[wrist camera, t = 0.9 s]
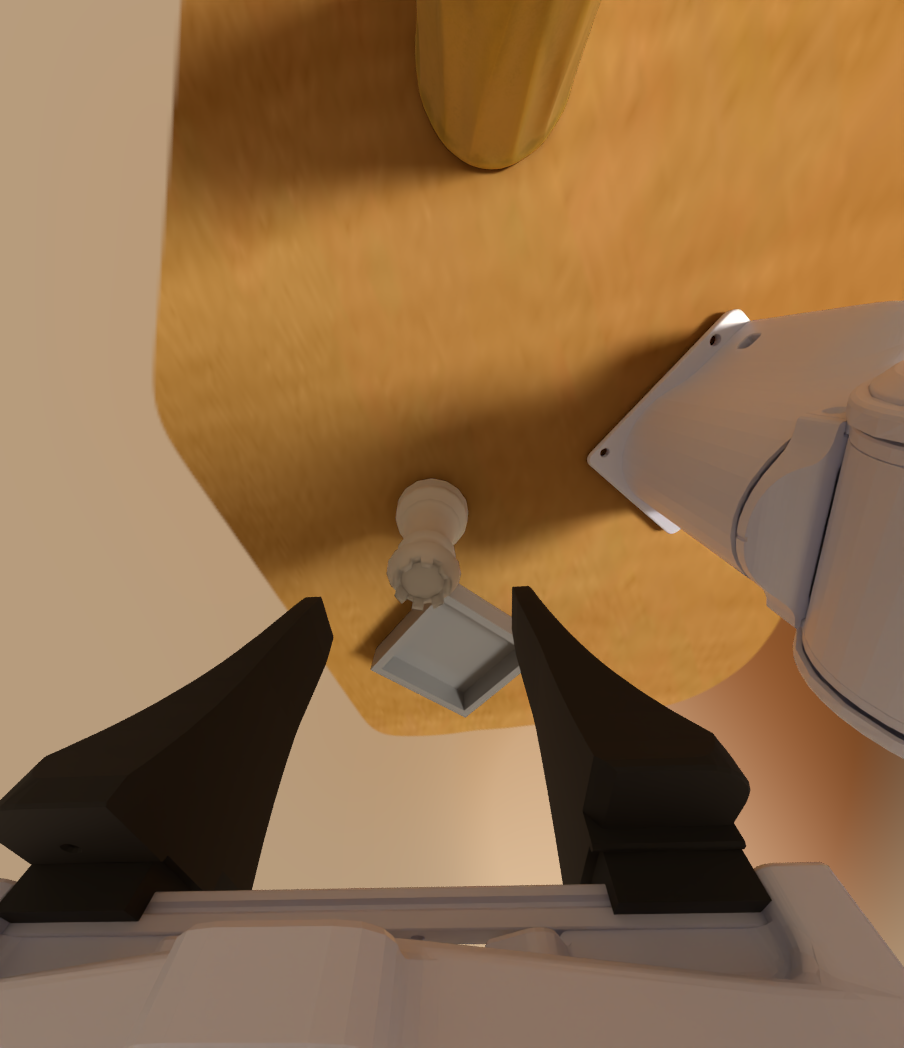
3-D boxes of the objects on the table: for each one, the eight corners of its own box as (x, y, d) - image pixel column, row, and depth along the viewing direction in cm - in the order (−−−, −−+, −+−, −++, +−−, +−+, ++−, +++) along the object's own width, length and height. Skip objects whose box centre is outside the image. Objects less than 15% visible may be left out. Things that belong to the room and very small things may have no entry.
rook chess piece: (388, 526, 21) (355, 609, 14) (411, 464, 19) (387, 523, 12) (451, 549, 22) (450, 639, 15) (479, 492, 20) (493, 562, 13)
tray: (443, 574, 23) (443, 592, 21) (537, 633, 25) (543, 654, 23) (376, 648, 26) (370, 669, 24) (464, 695, 28) (465, 717, 27)
